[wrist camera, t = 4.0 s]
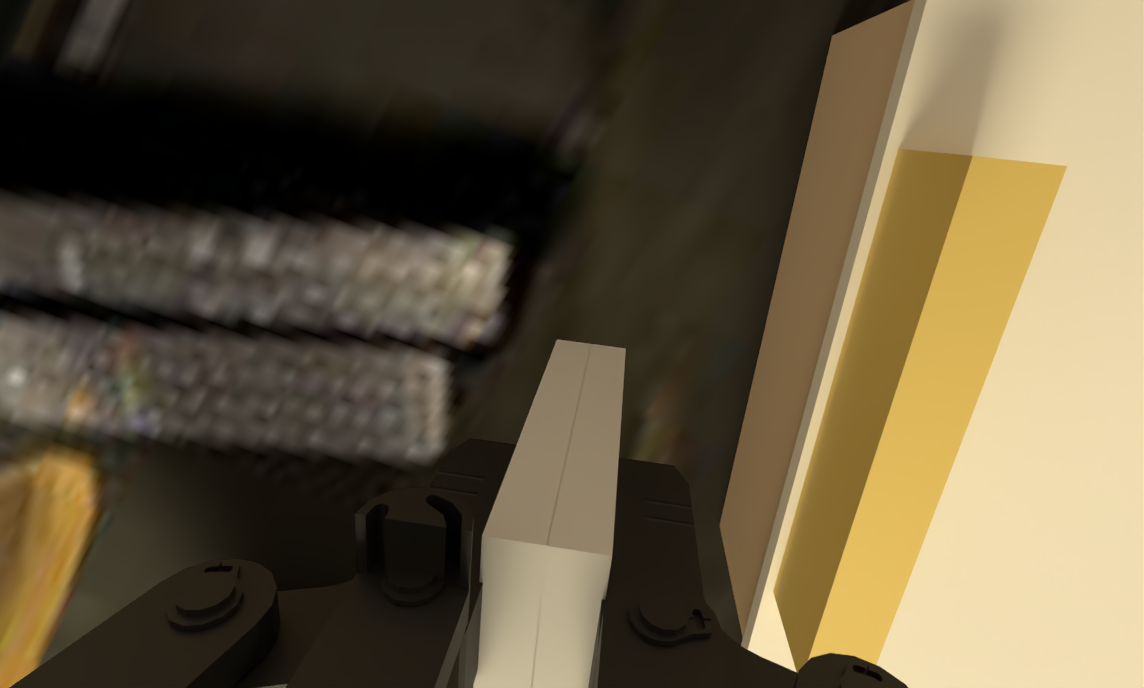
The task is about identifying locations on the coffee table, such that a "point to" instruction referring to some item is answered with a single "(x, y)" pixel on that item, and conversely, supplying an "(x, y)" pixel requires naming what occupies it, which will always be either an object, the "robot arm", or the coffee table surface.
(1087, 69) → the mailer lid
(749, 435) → the mailer box
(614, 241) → the coffee table surface
